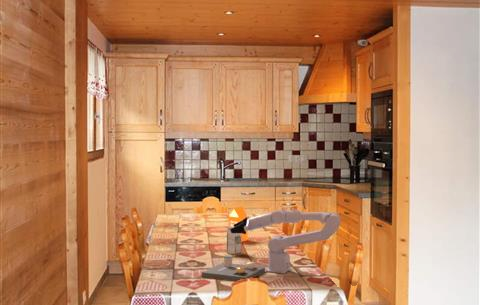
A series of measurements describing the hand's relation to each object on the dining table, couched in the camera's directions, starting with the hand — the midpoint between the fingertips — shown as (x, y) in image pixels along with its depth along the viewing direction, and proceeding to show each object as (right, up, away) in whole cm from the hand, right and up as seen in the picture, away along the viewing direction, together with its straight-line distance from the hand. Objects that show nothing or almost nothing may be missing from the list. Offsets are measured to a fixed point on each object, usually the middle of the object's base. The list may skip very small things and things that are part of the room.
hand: (232, 228), depth 262 cm
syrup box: (0, -18, +34) cm, 39 cm away
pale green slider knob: (-2, -17, -4) cm, 17 cm away
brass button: (+4, -18, -17) cm, 25 cm away
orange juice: (+2, -16, +69) cm, 71 cm away
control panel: (+1, -19, -10) cm, 21 cm away
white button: (+8, -17, -8) cm, 21 cm away
